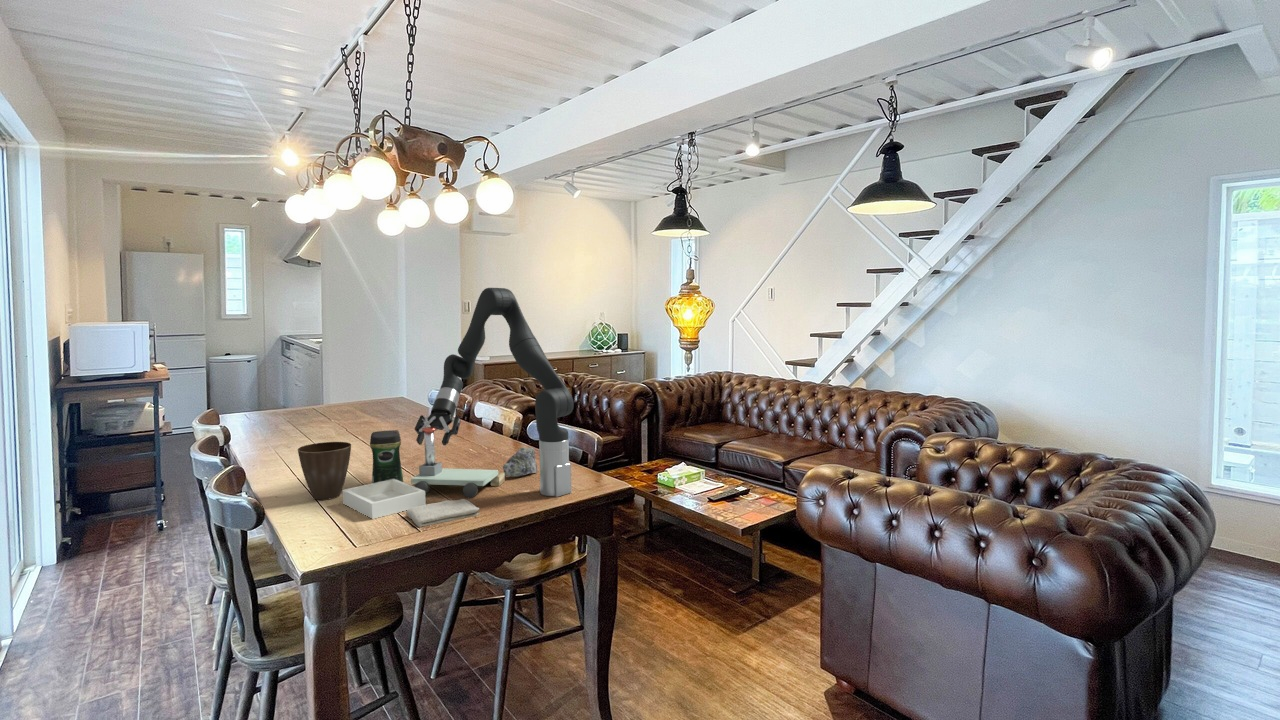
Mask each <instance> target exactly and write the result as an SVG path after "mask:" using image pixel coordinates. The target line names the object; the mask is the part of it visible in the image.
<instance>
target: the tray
mask: <svg viewBox="0 0 1280 720" xmlns="http://www.w3.org/2000/svg"><path fill="white" fill-rule="evenodd" d="M343 504H345V505H347V506H349V507H351V508H353V509H355V510H357V511H358V512H357V511H356V512H357V513H359V512H360V513H359V514H361V513H362V514H361V515H363V514H364V515H363V516H365V515H366V516H365V517H367V516H368V517H370V518H372V519H373V520H375V519H374V518H377V519H379V518H378V517H381V518H383V517H382V516H385V517H387V516H386V515H388V516H391V515H390V514H392V515H394V514H393V513H396V514H398V512H400V513H403V512H402V511H404V512H407V511H406V510H408V509H410V508H412V507H418V506H423V505H426V504H427V502H426V494H425V491H424V490H421V489H419V488H416V487H415V485H411V484H408V483H406V482H404V481H403V482H401V481H399V480H396V479H390V480H386V481H381V482H377V483H372V482H371V483H369V484H364V485H359V486H356V487H355V486H354V487H349V488H346V489H342V505H343ZM345 505H344V506H345ZM347 506H346V507H347ZM349 507H348V508H349ZM351 508H350V509H351ZM353 509H352V510H353ZM355 510H354V511H355ZM368 517H367V518H368ZM370 518H369V519H370ZM372 519H371V520H372Z"/></svg>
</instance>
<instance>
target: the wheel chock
mask: <svg viewBox="0 0 1280 720" xmlns="http://www.w3.org/2000/svg"><path fill="white" fill-rule="evenodd" d="M505 478H506V476H505V473H503V472H500V471H498V475H497V476H496V477H495V478H493V479H492V480H491V483H490V486H491V487H500V486H501V484H502V483H503V482H504V483H505V481H506V479H505ZM504 483H503V484H504ZM503 484H502V485H503Z"/></svg>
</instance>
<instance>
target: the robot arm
mask: <svg viewBox="0 0 1280 720" xmlns="http://www.w3.org/2000/svg"><path fill="white" fill-rule="evenodd" d="M491 316H502V317H503V319H505V321H506V323H507V325H508V327H509V337H508V339H509V340H508V347H509V350H510V353H511V355H512V356H513V358H514V360H515V362H516V363H517V365H518V366H519V367H520V368H521V369H522V370H523V371H524V372H525V373H527V374H528V375H529V376H531V377H532V378H533V379H534V380H536V381H538V383H539V384H540V385H541V386H542V387H543V389H542V390H540V391H539V392H538V393H537V394H536V397H535V400H534V401H535V402H534V408H535V409H534V410H535V423H536V424H535V425H536V426H535V427H536V431H537V434H538V440H539V441H538V446H539V451H538V453H539V487H540V488H539V490H540V491H539V493H540V494H541V495H542V496H545V497H555V498H557V497H558V498H559V497H561V496H564V495H568V494H572V464H571V463H570V456H569V455H570V454H569V452H570V451H569V447H570V446H569V445H570V443H569V430H568V429H567V428H564V427H561V426H559V424H558V418H561V417H566V416H568V415H571V414H572V412H573V410H574V405H575V404H574V399H573V396H572V394H571V392H570V390H569V389H568V387H567V386H566V385H565V383H564V382H563V381H562V379H561V378H560V376H559V374H557V372H556V371H555V369H554V367H553V365H552V364H551V362H550V361H549V359H548V357H547V356H546V354H545V352H544V350H543V349H542V347H541V345H540V344H539V341H538V340H537V338H536V336H535V335H534V333H533V331H532V330H531V327H530V325H529V324H528V322H527V320H526V318H525V316H524V314H523V312H522V309H521V307H520V305H519V302H518V300H517V298H516V296H515V294H514V293H513V292H512V290H510V289H508V288H505V287H486V288H484V289H483V290H482V291H481V293H480V295H479V297H478V299H477V303H476V304H475V308H474V311H473V314H472V317H471V320H470V322H469V326H468V328H467V331H466V333H465V335H464V336H463V338H462V340H461V342H460V344H459V346H458V349H457V353H458V355H457V354H450V355H448V356H447V357H446V358H445V360H444V362H443V379H442V382H441V386H440V388H439V390H438V392H437V394H436V397H435V400H434V401H433V405H432V407H431V410H430V415H428V416H424V415H423V414H422V415H420V416H419V418H418V420H417V423H416V425H415V426H414V431H415V433H416V434H417V437H416V442H417V444H418V445H420V446H421V445H422V444H423V442H424V432H422V428H425V427H436V431H437V430H439V431H443V430H445V432H444V434H443V437H442V440H441V444H442V445H443V446H447V444H449V442H450V439H451V437H452V436H453V435H454V436H456V435H458V433H459V429H460V426H461V418H460V417H459V416H458V415H455V412H456V410H457V407H458V406H459V405H458V404H459V400H460V399H459V398H460V396H461V393H462V390H463V388H464V387H463V386H464V383H463V381H462V380H467V379H470V378H471V376H473V374H474V369H475V364H476V360H477V356H478V355H479V353H480V351H481V350H482V348H483V346H484V345H485V341H486V331H485V329H486V328H485V326H486V322H487V321H488V320H489V318H490V317H491ZM454 416H455V417H454ZM450 424H452V426H451V429H450V428H449V426H450Z"/></svg>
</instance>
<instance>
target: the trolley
mask: <svg viewBox="0 0 1280 720" xmlns="http://www.w3.org/2000/svg"><path fill="white" fill-rule="evenodd" d="M442 466H443V463H442V462H435V465H434V466H426V465H425V463H423V464H421V465H419V466H418V468H419V469H418V472H419V473H418V474H417V475H415V476H413V477H411V478H410V485H411V484H414V487H416V488H419V489H421V490H424V491H425V495H427V494H428V493H429V492H430V485H436V486H437V485H439V486H440V485H441V486H442V485H443V486H463V488H462V493H463V495H464V496H465V497H466V498H468V497H469V499H471V498H473V497H475V496H476V495H477V494H478V492H479V489H478V487H484V486H486V485H491V480H492V479H493V478H495V477H496V476H497V475H498V472H499V470H498V469H479V468H478V469H477V468H476V469H475V468H447V467H446V468H445V467H442Z"/></svg>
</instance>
